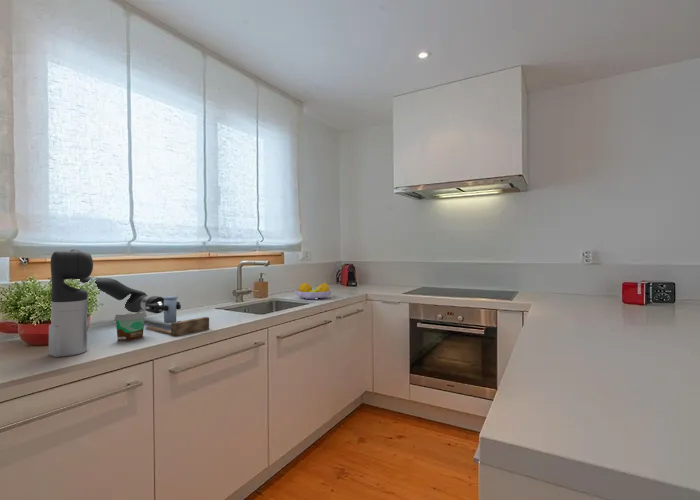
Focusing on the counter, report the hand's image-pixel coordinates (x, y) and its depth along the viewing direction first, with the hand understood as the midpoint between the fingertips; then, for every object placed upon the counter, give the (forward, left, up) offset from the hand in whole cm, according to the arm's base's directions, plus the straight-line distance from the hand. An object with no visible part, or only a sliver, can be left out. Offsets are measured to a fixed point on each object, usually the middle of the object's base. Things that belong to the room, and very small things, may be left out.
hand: (173, 307), depth 150 cm
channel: (0, -3, -9) cm, 9 cm away
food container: (-18, -5, -9) cm, 21 cm away
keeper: (0, +3, -7) cm, 7 cm away
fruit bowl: (+109, +11, -9) cm, 110 cm away
